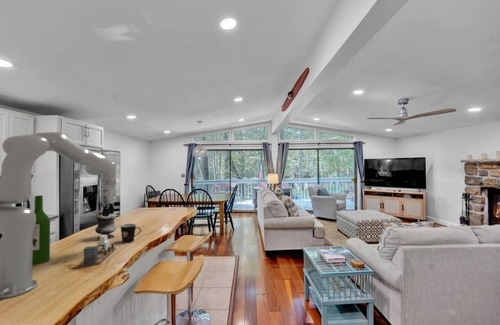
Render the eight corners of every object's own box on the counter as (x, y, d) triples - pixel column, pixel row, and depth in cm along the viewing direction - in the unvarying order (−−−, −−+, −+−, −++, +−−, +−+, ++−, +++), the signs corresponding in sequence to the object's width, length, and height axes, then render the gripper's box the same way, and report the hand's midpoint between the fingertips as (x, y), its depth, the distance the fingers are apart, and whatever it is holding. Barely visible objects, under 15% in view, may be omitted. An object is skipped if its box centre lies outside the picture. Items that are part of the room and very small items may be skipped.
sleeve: (106, 251, 131) (106, 236, 131) (97, 251, 130) (97, 237, 130) (109, 247, 136) (109, 234, 136) (100, 248, 135) (101, 234, 135)
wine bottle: (21, 266, 116) (22, 197, 116) (32, 259, 124) (33, 195, 125) (43, 264, 118) (44, 196, 118) (53, 257, 127) (53, 194, 127)
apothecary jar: (107, 240, 155) (107, 212, 155) (90, 239, 157) (90, 211, 157) (120, 235, 167) (120, 208, 167) (104, 234, 169) (104, 208, 169)
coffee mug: (117, 242, 152) (117, 226, 152) (129, 238, 160) (129, 223, 160) (129, 245, 147) (129, 228, 147) (141, 241, 154) (142, 225, 154)
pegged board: (99, 264, 118) (99, 247, 118) (78, 265, 116) (79, 249, 116) (116, 248, 140) (116, 234, 140) (99, 249, 138) (99, 235, 138)
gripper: (109, 184, 132) (109, 217, 132) (120, 182, 149) (120, 211, 149) (94, 184, 131) (94, 218, 130) (107, 182, 148) (107, 212, 147)
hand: (108, 214), depth 140 cm, fingers open, 6 cm apart
